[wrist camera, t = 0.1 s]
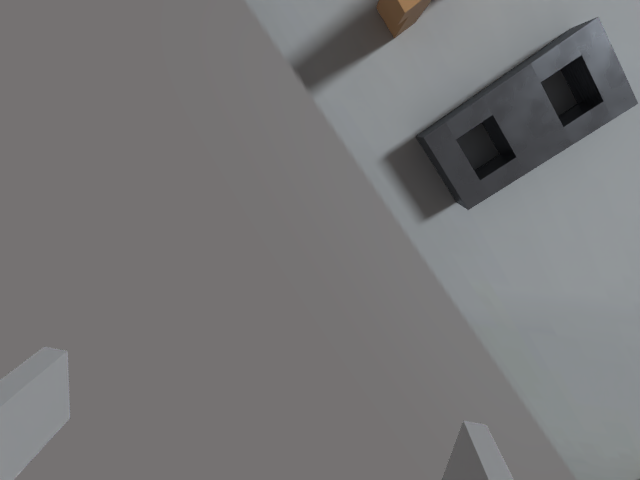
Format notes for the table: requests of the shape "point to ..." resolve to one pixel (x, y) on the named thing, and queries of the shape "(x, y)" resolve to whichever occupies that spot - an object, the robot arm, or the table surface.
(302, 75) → the table surface
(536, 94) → the slotted gray block
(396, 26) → the notched wooden block
